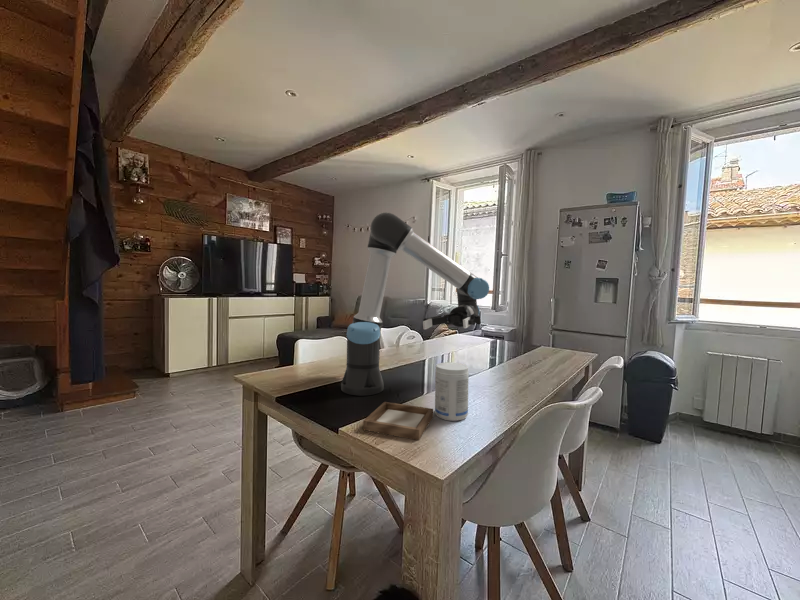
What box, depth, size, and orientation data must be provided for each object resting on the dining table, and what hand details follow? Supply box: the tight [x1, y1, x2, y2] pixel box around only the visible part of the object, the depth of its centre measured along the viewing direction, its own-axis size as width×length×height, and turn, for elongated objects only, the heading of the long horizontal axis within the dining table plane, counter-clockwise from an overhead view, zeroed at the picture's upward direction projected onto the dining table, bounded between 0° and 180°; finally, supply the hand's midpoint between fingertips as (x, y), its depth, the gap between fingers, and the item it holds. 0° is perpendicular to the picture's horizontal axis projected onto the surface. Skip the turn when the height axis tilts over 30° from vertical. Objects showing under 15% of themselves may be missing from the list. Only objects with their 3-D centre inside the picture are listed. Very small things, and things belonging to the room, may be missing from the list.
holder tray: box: [362, 401, 434, 441], centre depth 90 cm, size 15×15×2 cm
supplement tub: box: [434, 361, 470, 422], centre depth 96 cm, size 10×10×15 cm
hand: (443, 324), depth 107 cm, fingers open, 13 cm apart
